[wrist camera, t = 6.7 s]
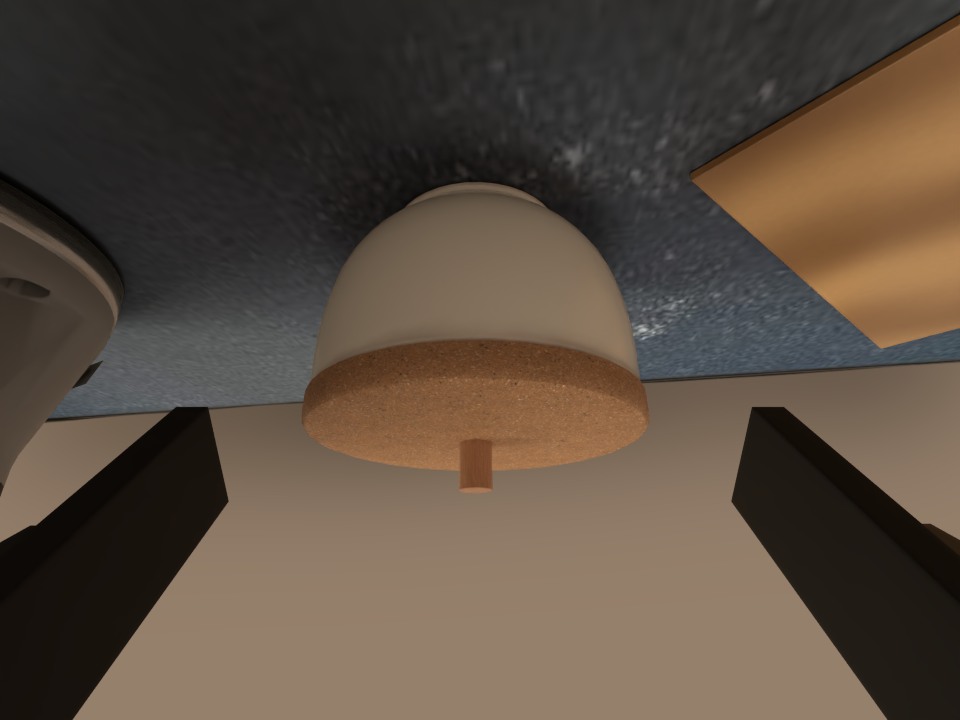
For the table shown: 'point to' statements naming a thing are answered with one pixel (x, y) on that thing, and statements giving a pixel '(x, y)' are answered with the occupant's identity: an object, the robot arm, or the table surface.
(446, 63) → the table surface
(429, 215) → the trinket box
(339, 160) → the table surface
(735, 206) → the cork mat
